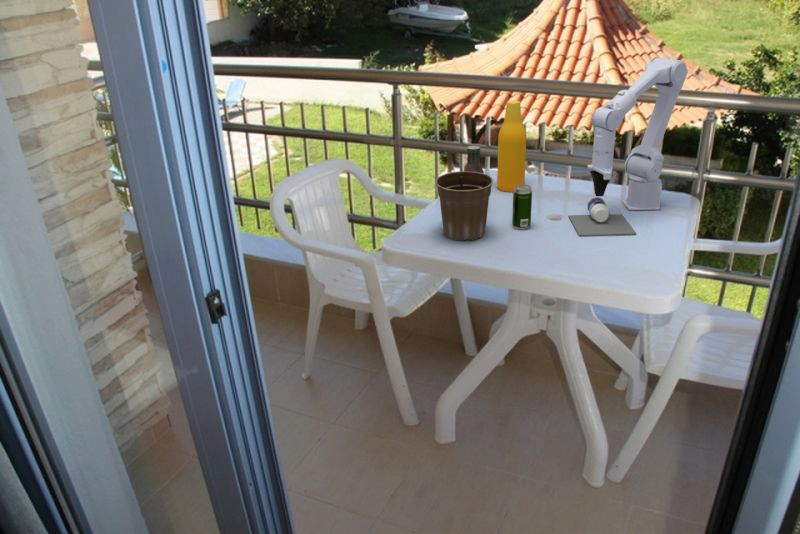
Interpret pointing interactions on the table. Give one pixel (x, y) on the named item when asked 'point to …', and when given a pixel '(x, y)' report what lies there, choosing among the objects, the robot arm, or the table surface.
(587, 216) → the mat
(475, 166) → the sauce bottle
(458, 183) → the plant pot
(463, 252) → the table surface
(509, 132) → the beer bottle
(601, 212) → the pill bottle
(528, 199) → the beer can
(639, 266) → the table surface
